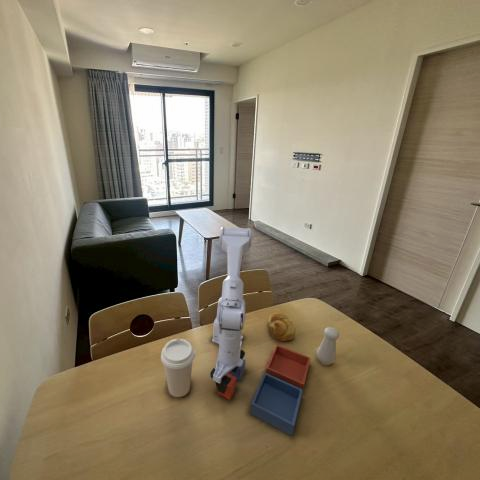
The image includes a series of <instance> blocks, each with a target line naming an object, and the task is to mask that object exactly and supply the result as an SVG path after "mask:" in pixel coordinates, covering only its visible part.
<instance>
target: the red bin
mask: <svg viewBox="0 0 480 480" xmlns="http://www.w3.org/2000/svg"><path fill="white" fill-rule="evenodd" d="M310 363H311V357H310V356H307V355H305V354H302V353H299V352H297V351H294V350H292V349H290V348H287V347H285V346H281V345H279V344H275V346H274V348H273V351H272V353H271V356H270V358H269V361H268V363H267V365H266V369H265V373H267V374H269V375H271V376H273V377H276V378H278V379H280V380H282V381H285V382H287V383H289V384H291V385H293V386H296V387H298V388H300V389H302V390H303V391H304V387H305V382H306V378H307V375H308V370H309V367H310ZM303 391H302V393H303Z"/></svg>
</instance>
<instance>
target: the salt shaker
mask: <svg viewBox="0 0 480 480" xmlns="http://www.w3.org/2000/svg"><path fill="white" fill-rule="evenodd" d="M323 335H324V338H323V340H322V341H321V343H320V345H319V347H318V348H317V350H316V358H317V360H318V361H319V362H320V364H321V365H324V366H326V367H327V366H330V365H331V364H333V363H335V361H336V359H337V340H338V339H339V338H340V333H339V331H338V329H336V328H334V327H332V326H331V327H330V326H329V327H326V328H324V331H323Z"/></svg>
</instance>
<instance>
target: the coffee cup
mask: <svg viewBox="0 0 480 480" xmlns="http://www.w3.org/2000/svg"><path fill="white" fill-rule="evenodd" d="M195 357H196V352H195V349H194V347H193V345H192V344H191V343H190V342H189V341H188V340H186V339H184V338H175V339H174V338H173V339H171V340H169V341H167V342H166V344H165V345H164V347H163V348H162V350H161V354H160V361H161V363H162V364H163V369H164V373H165V378H166V383H167V389H168V392H169V394H170V395H171V396H172V397H175V398H181V397H184V396H186V395H187V394H188V393H189V392H190V388H191V381H192V371H193V361H194V360H195Z"/></svg>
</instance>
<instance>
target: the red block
mask: <svg viewBox="0 0 480 480" xmlns="http://www.w3.org/2000/svg"><path fill="white" fill-rule="evenodd" d="M226 376H228V377H230V378H232V379H231V381H230V383H229V384H228V385H227V389H226V391H225V393H224V394H223V393H221V392H219V391H218V390H217V394H218V395H220V396H222V397H223V398H225V399H227V400H229V401H230V400H231V399H232V397H233V395H234V393H235V391H236V388H237V380H236V377H235V376H233V375H231V374H229V373H227V374H226Z"/></svg>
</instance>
